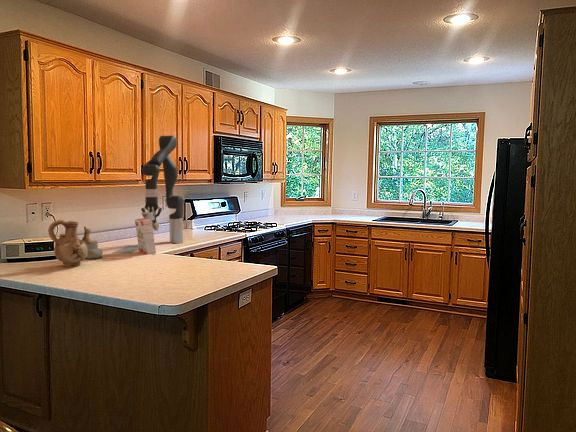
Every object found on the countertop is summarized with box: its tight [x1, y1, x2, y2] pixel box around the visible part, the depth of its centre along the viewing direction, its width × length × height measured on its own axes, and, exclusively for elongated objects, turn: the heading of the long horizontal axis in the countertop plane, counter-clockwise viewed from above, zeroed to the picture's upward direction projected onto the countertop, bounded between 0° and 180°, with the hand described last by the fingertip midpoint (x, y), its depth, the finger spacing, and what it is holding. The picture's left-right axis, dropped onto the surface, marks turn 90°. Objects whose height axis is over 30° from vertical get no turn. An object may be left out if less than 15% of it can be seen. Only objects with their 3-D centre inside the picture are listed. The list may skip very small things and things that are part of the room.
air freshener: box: [85, 240, 104, 260], centre depth 273 cm, size 11×8×10 cm
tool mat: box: [111, 245, 139, 254], centre depth 301 cm, size 28×12×1 cm, turn 178°
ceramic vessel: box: [47, 219, 95, 268], centre depth 251 cm, size 18×19×25 cm
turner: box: [141, 211, 160, 232], centre depth 299 cm, size 22×6×4 cm
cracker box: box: [134, 217, 157, 255], centre depth 289 cm, size 14×6×21 cm, turn 37°
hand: (152, 223), depth 300 cm, fingers closed on turner, 2 cm apart
